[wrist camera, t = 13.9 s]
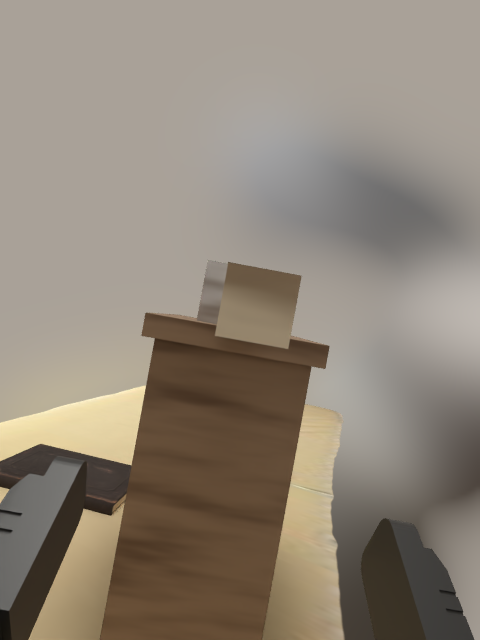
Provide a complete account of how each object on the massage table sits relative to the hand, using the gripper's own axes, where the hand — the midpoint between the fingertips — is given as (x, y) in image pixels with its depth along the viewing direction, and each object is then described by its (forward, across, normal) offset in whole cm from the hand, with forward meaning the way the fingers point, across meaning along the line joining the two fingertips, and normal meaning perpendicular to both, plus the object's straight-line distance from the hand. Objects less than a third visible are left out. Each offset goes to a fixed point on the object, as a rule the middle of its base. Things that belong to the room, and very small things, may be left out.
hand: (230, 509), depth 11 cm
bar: (+21, 0, +6) cm, 22 cm away
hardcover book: (+43, +21, +55) cm, 73 cm away
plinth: (+20, -2, +42) cm, 46 cm away
